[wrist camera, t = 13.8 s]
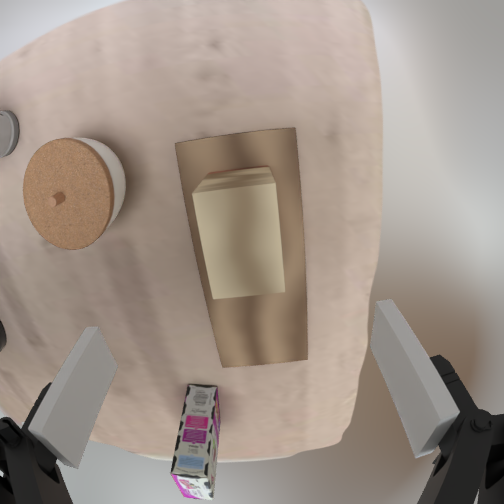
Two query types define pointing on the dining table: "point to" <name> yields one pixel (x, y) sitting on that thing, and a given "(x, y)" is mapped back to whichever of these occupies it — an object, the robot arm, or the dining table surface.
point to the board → (292, 241)
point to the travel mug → (8, 132)
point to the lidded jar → (73, 191)
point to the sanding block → (240, 232)
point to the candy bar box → (197, 443)
